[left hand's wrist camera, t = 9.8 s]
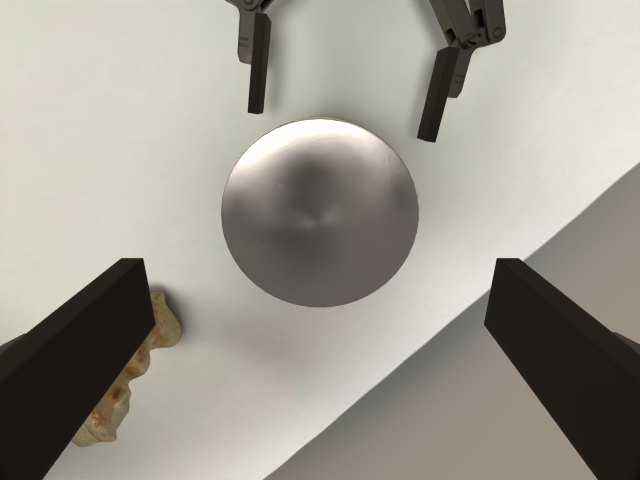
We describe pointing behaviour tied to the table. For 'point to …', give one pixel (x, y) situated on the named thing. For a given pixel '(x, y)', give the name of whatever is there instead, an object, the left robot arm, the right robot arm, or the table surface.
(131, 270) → the left robot arm
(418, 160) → the table surface
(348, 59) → the table surface
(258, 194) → the lid
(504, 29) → the right robot arm
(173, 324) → the sculpture
